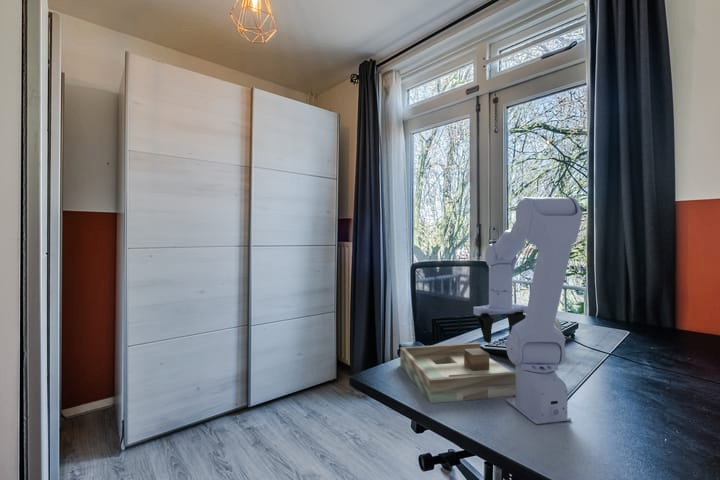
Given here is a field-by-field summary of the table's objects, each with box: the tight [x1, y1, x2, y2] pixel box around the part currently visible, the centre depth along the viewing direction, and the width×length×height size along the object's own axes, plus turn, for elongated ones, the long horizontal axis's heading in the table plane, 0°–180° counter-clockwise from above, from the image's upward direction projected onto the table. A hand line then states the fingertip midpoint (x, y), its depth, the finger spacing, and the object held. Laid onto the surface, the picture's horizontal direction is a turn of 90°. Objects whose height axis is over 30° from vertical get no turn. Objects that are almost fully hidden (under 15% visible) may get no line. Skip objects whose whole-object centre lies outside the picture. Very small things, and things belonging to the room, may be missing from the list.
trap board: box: [399, 342, 516, 404], centre depth 84 cm, size 22×24×5 cm
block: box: [464, 348, 490, 371], centre depth 85 cm, size 4×4×4 cm
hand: (500, 341), depth 88 cm, fingers open, 7 cm apart
